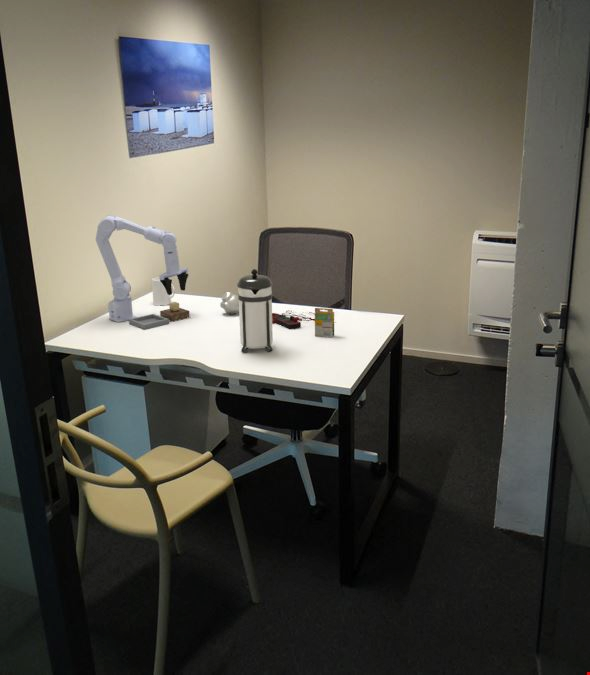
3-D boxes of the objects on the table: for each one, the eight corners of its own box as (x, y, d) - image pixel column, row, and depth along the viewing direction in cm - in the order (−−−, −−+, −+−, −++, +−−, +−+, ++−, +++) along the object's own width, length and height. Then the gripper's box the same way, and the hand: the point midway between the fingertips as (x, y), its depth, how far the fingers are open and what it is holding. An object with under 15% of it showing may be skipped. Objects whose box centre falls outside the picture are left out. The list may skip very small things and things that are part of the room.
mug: (180, 303, 317) (178, 278, 313) (168, 307, 310) (166, 282, 306) (161, 300, 323) (159, 275, 319) (149, 304, 316) (147, 279, 312)
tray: (144, 329, 277) (144, 324, 276) (129, 323, 285) (128, 319, 285) (169, 323, 285) (169, 319, 284) (153, 318, 293) (153, 313, 293)
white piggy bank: (222, 311, 303) (221, 289, 300) (243, 311, 303) (242, 289, 300) (219, 316, 295) (218, 294, 291) (241, 316, 294) (240, 294, 291)
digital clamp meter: (291, 323, 270) (259, 309, 290) (291, 333, 271) (259, 319, 291) (338, 313, 282) (304, 301, 302) (338, 324, 283) (304, 310, 303)
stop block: (172, 321, 288) (171, 314, 287) (160, 317, 294) (160, 311, 293) (189, 317, 294) (189, 310, 293) (177, 313, 300) (177, 307, 299)
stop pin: (174, 319, 292) (173, 304, 290) (170, 317, 294) (169, 303, 292) (179, 317, 294) (179, 303, 292) (176, 316, 296) (175, 301, 294)
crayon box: (334, 335, 267) (334, 307, 263) (332, 337, 264) (332, 309, 260) (316, 334, 268) (316, 305, 265) (314, 336, 266) (314, 307, 262)
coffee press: (287, 347, 253) (285, 268, 244) (254, 357, 243) (252, 275, 234) (256, 337, 265) (254, 262, 256) (224, 346, 254) (221, 268, 245)
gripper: (165, 265, 280) (169, 297, 284) (190, 258, 290) (195, 289, 295) (154, 264, 284) (158, 295, 288) (179, 257, 295) (184, 287, 299)
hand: (176, 292), depth 292 cm, fingers open, 7 cm apart
